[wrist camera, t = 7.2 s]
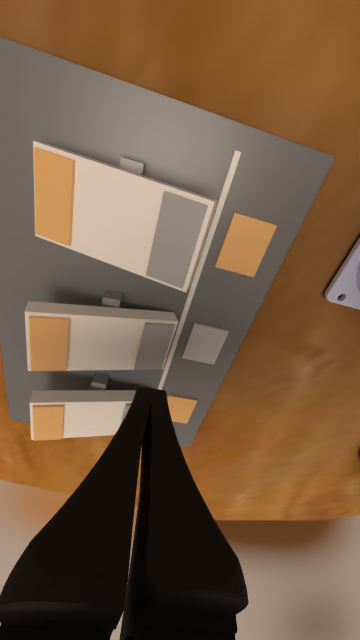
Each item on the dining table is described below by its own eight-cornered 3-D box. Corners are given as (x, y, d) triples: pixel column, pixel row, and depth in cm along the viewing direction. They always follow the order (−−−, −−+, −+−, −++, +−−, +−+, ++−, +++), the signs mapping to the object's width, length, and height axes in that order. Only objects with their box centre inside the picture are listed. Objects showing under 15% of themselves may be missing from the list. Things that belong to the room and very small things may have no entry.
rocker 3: (151, 390, 20) (153, 403, 19) (141, 422, 22) (143, 435, 21) (33, 390, 17) (28, 405, 16) (34, 427, 19) (30, 442, 18)
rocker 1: (218, 200, 11) (213, 201, 10) (190, 285, 13) (184, 294, 12) (50, 144, 11) (29, 139, 10) (49, 232, 14) (32, 236, 12)
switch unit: (324, 157, 13) (347, 156, 11) (189, 436, 25) (190, 457, 23) (-21, 33, 10) (-59, 10, 9) (15, 410, 23) (3, 430, 21)
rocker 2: (173, 312, 16) (179, 323, 15) (159, 359, 18) (163, 371, 17) (28, 301, 13) (23, 313, 12) (30, 358, 15) (27, 373, 14)
